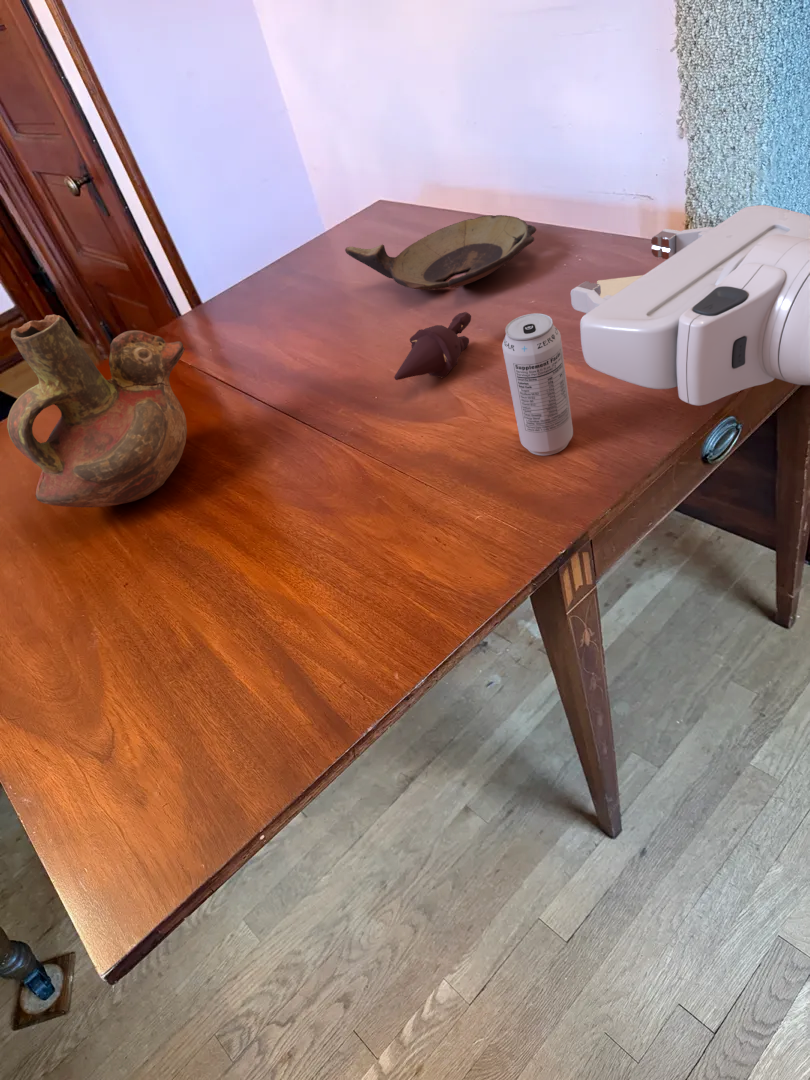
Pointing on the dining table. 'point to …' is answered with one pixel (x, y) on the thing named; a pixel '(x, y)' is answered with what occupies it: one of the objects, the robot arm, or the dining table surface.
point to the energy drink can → (538, 383)
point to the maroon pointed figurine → (435, 349)
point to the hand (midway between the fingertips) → (618, 267)
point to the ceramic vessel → (99, 415)
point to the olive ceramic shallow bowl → (452, 253)
